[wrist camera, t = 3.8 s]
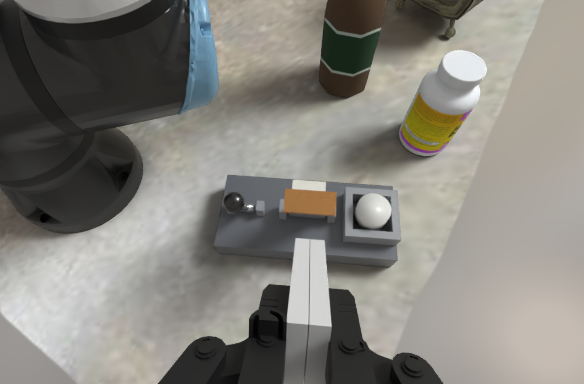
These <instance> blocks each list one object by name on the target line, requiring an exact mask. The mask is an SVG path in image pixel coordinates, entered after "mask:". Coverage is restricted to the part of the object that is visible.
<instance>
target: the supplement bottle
mask: <svg viewBox="0 0 584 384" xmlns="http://www.w3.org/2000/svg"><path fill="white" fill-rule="evenodd" d="M486 72H487V67H486V65H485V63H484V61H483V60H482V59H481V58H480V57H478V56H477V55H475V54H473V53H471V52H468V51H462V50H456V51H452V52H449V53H447V54H446V55H445V56H444V57H443V59H442V61H441V63H440V64H439V67H438V68H436V69H434V70H432V71H430V72H429V73H428V74H427V75H426V76H425V77H424V78H423V80H422V82H421V84H420V86H419V88H418V91H417V93H416V95H415V97H414V99H413V101H412V103H411V105H410V108H409V110H408V112H407V114H406V116H405V118H404V120H403V122H402V125H401V127H400V130H399V137H400V140H401V142H402V144H403V145H404V146H405V148H407V149H408V150H409V151H411V152H412V153H414V154H417V155H421V156H432V155H435V154H438V153H440V152H441V151H442V150H443V149H444V148H445V147H446V145H447V144H448V143H449V141H450V140H451V139H452V137H453V136H454V134H455V133H456V132H457V130H458V129H459V127H460V126H461V125H462V123H463V122H464V120H465V119H466V118H467V116H468V115H469V113H470V112H471V111H472V109H473V108H474V107H475V105H476V104H477V102H478V100H479V97H480V88H479V84H480V83H481V81H482V79H483V78H484V76H485V75H486Z"/></svg>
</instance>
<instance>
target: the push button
mask: <svg viewBox="0 0 584 384" xmlns="http://www.w3.org/2000/svg"><path fill="white" fill-rule="evenodd" d="M390 216H391V205H390V203H389V202H388V200H387V199H386V198H384V197H383V196H381V195H379V194H375V193H370V194H366V195H364V196H363V197H361V198H360V200H359V201H358V204H357V206H356V209H355V211H354V218H355V221H356V223H357V224H358V225H359V226H360V227H361V228H362V229H364V230H372V231H377V230H379V229H381V228H382V227H383V226H384V225H385V223H386V222H387V221H388V219H389V218H390Z"/></svg>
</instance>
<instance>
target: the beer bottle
mask: <svg viewBox="0 0 584 384" xmlns="http://www.w3.org/2000/svg"><path fill="white" fill-rule="evenodd" d="M386 4H387V0H328V1H327V6H326V11H325V17H324V28H323V38H322V49H321V60H320V70H319V81H320V83H321V84H322V85H323V87H324V88H325V89H326V90H327V92H328V93H329V94H331V95H336V96H340V97H345V98H348V97H351V96H353V95H355V94H357V93H360V92H362V91H363V90H364V88H365V85H366V82H367V79H368V75H369V71H370V68H371V64H372V60H373V57H374V53H375V49H376V46H377V42H378V38H379V34H380V31H381V27H382V23H383V19H384V14H385V10H386Z"/></svg>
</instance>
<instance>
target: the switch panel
mask: <svg viewBox="0 0 584 384" xmlns="http://www.w3.org/2000/svg"><path fill="white" fill-rule="evenodd" d="M285 189H299V190H313V191H327V192H337V196H336V213H335V216H325V219H320V218H307V217H293V216H289V213H284V212H283V210H284V197H285ZM229 192H238V193H240V194H241V195H242V196H243V197H244V200H245V203H252V204H255V212H241V211H239V212H237V213H231V212H229V211H227V210H226V209H225V208H224V205H223V201H222V206H221V211H220V216H219V221H218V226H217V231H216V236H215V241H214V247H215V248H216V250H217V251H218V253H219V254H231V255H244V256H256V257H269V258H281V259H293V257H294V248H295V239H296V238H301V239H314V240H325V252H326V262H332V263H345V264H357V265H370V266H382V267H391V266H392V265H393V264H394V263H395V262H396V261H397V260H398V259H397V244H398V243H399V242H400V241H401V231H400V218H399V204H398V191H397V190H393V186H380V185H366V184H351V183H337V182H323V181H308V180H294V179H280V178H265V177H251V176H237V175H227V181H226V186H225V191H224V196H223V199H224V197H225V195H226V194H228V193H229ZM370 193H375V194H379V195H381V196H383V197H384V198H386V199H387V200H388V202H389V203H390V205H391V216H390V218H389V219H388V221H387V222H386V223H385V225H384V226H383V227H382V228H381V229H379V230H377V231H372V230H364V229H362V228H361V227H360V226H359V225H358V224H357V223H356V221H355V218H354V211H355V209H356V206H357V204H358V201H359V200H360V198H361V197H363V196H364V195H366V194H370Z"/></svg>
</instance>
